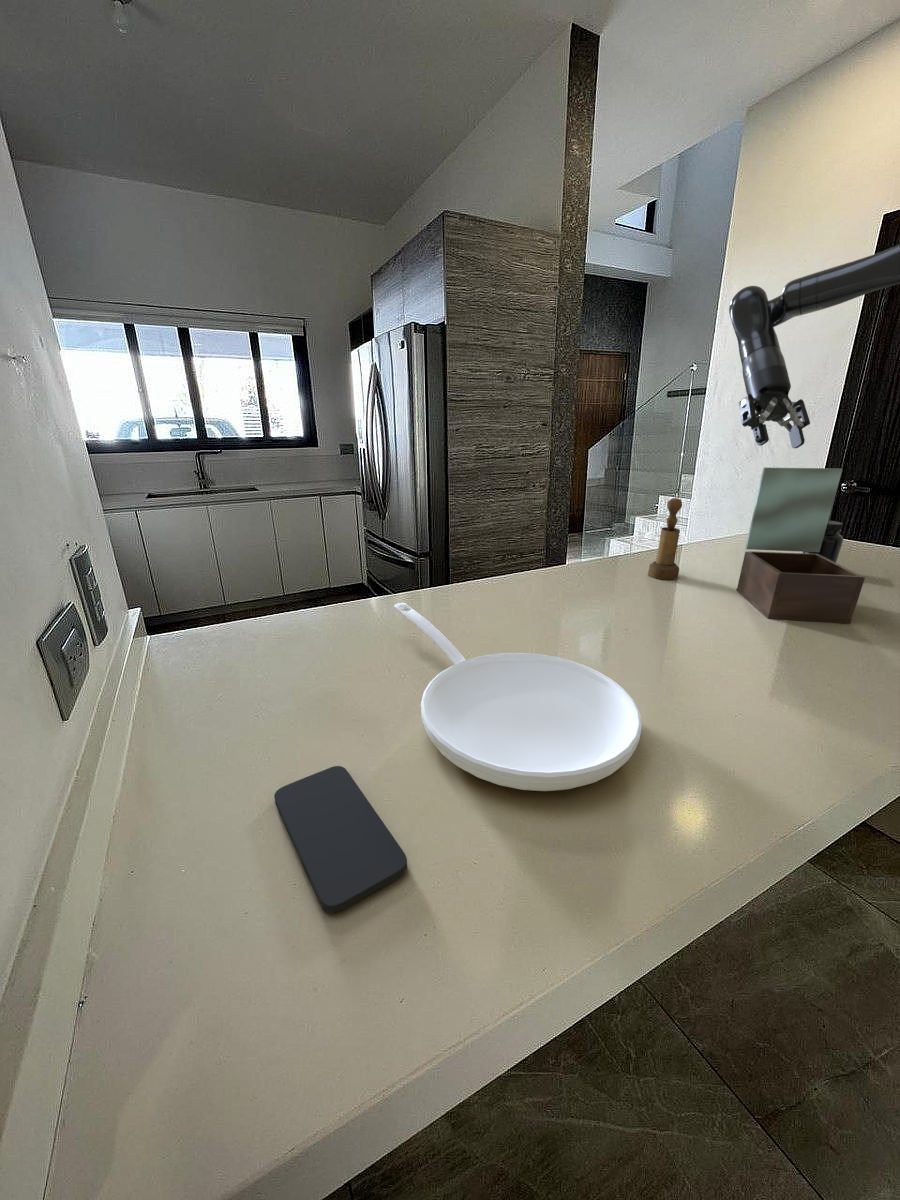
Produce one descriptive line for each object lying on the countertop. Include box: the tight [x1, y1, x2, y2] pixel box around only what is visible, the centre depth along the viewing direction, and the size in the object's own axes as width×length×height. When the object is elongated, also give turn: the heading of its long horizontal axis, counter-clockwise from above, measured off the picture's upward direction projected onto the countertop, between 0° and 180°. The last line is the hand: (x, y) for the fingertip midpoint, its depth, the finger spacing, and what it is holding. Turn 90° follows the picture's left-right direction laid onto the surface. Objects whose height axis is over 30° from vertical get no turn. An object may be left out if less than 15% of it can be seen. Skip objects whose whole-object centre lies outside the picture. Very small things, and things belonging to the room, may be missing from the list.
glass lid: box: [744, 466, 843, 553], centre depth 95 cm, size 16×14×1 cm
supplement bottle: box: [802, 520, 844, 563], centre depth 113 cm, size 7×7×12 cm
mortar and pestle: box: [647, 497, 683, 581], centre depth 109 cm, size 7×6×18 cm
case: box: [736, 550, 866, 624], centre depth 93 cm, size 16×14×9 cm
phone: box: [273, 765, 408, 913], centre depth 43 cm, size 7×1×15 cm
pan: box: [392, 602, 643, 792], centre depth 63 cm, size 25×44×6 cm, turn 34°
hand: (781, 445), depth 97 cm, fingers open, 8 cm apart
